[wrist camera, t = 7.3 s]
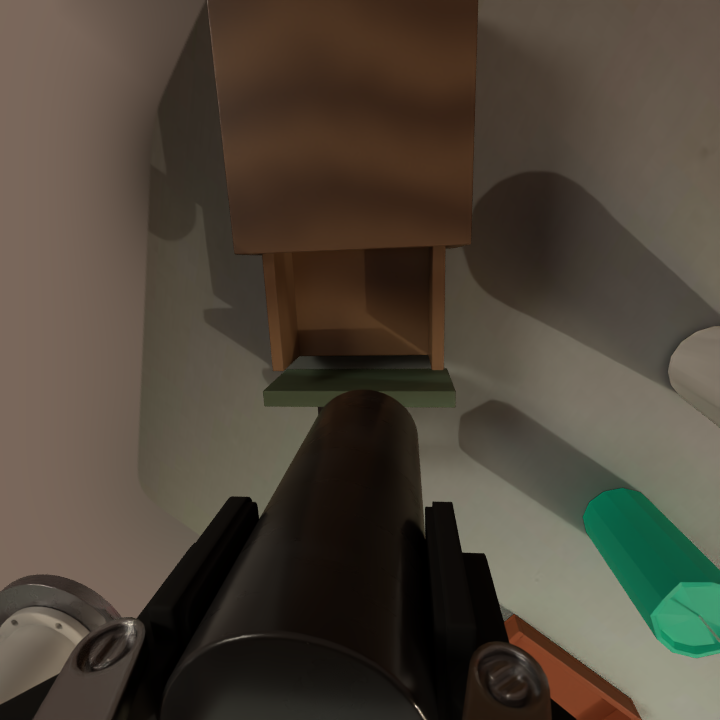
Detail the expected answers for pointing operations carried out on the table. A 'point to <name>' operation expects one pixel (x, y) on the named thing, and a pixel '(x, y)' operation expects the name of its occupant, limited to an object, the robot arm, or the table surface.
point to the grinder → (324, 587)
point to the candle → (658, 571)
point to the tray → (571, 678)
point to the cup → (699, 372)
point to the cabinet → (346, 122)
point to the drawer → (357, 323)
